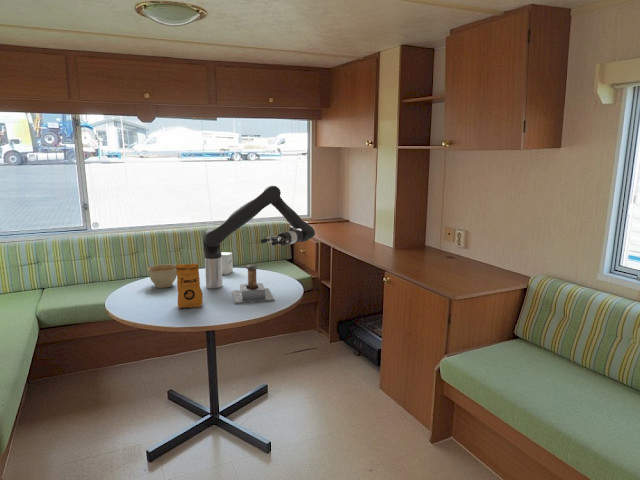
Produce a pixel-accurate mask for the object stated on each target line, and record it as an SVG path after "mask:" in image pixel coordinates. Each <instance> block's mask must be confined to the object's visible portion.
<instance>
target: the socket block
mask: <svg viewBox="0 0 640 480" xmlns="http://www.w3.org/2000/svg"><path fill="white" fill-rule="evenodd" d="M231 293H232V297H233V301H234V305H241V304H243V305H244V304H255V303H267V302H268V303H269V302H274V301H275V299H274V296H273V294H272V292H271V291H270V288H268V287H265V285H264V283H262V282H257V288H254V289H248V283H243V284H242V283H240V284H239V289H238V290H232V291H231Z"/></svg>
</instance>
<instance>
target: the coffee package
mask: <svg viewBox="0 0 640 480" xmlns="http://www.w3.org/2000/svg"><path fill="white" fill-rule="evenodd" d="M175 265H176V270H177V276H176V279H177V281H176V286H177V307H178V308H179V309H185V308H189V309H190V308H192V309H193V308H202V305H203V304H204V302H203V301H204V300H203V297H204V296H203V290H202V288H201V282H200V272H199V270H200V268H199V263H182V264H181V263H180V264H175Z"/></svg>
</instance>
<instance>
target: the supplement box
mask: <svg viewBox="0 0 640 480" xmlns="http://www.w3.org/2000/svg"><path fill="white" fill-rule="evenodd" d="M221 257H222V275H230V274H231V273H232V272H233V270H234V269H233V268H234V266H233V263H234V262H233V252H229V251H228V252H224V251H221ZM233 273H234V272H233Z"/></svg>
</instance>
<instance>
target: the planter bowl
mask: <svg viewBox="0 0 640 480" xmlns="http://www.w3.org/2000/svg"><path fill="white" fill-rule="evenodd" d="M176 265H177V264H166V263H165V264H156V265H152V266H150V267H148V268H147V271H148V276H149V279H150V281H151V282H152V283H153V284H154V287H155V288H159V289H165V288H170V287H172V286H173V285H174V283H175V281H176V279H177V270H176Z"/></svg>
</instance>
